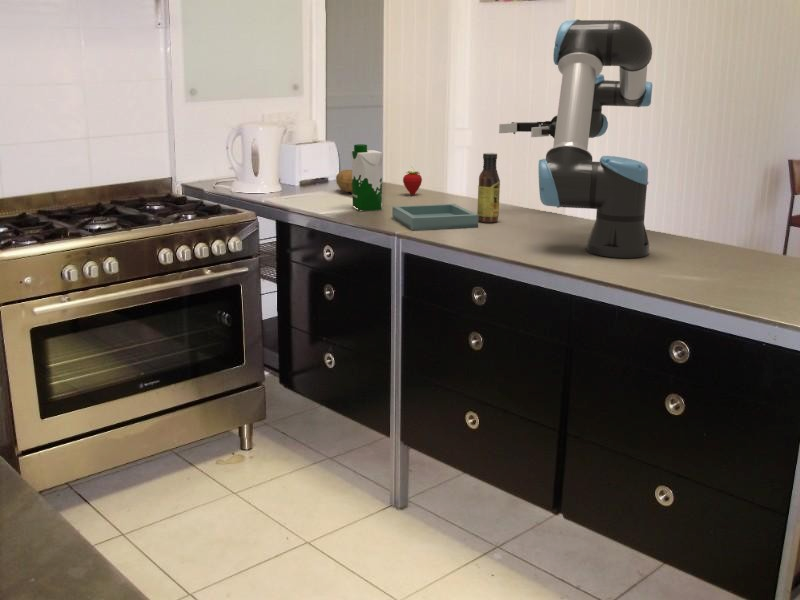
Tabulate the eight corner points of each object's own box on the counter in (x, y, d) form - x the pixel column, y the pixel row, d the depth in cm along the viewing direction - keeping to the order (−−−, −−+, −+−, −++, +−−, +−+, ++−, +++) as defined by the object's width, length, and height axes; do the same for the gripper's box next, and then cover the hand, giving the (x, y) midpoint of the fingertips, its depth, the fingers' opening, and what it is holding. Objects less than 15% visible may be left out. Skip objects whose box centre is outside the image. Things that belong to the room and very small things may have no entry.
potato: (353, 188, 313) (353, 166, 311) (373, 194, 302) (373, 171, 300) (329, 191, 308) (329, 168, 306) (349, 196, 297) (349, 173, 295)
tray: (478, 227, 247) (478, 215, 246) (412, 230, 241) (412, 218, 240) (453, 215, 265) (454, 203, 264) (392, 218, 259) (392, 206, 258)
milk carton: (349, 207, 276) (348, 143, 271) (375, 205, 280) (376, 143, 274) (358, 211, 268) (357, 146, 263) (385, 210, 272) (385, 145, 266)
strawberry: (398, 195, 299) (399, 166, 297) (412, 193, 305) (412, 164, 302) (412, 197, 296) (412, 168, 293) (425, 195, 302) (426, 166, 299)
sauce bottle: (497, 224, 252) (500, 155, 246) (475, 223, 253) (478, 154, 248) (499, 219, 258) (502, 152, 253) (478, 218, 259) (480, 151, 254)
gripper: (596, 143, 257) (545, 147, 245) (536, 136, 277) (486, 139, 265) (598, 117, 255) (547, 120, 243) (538, 112, 275) (487, 114, 263)
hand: (515, 130), depth 254 cm, fingers open, 13 cm apart
